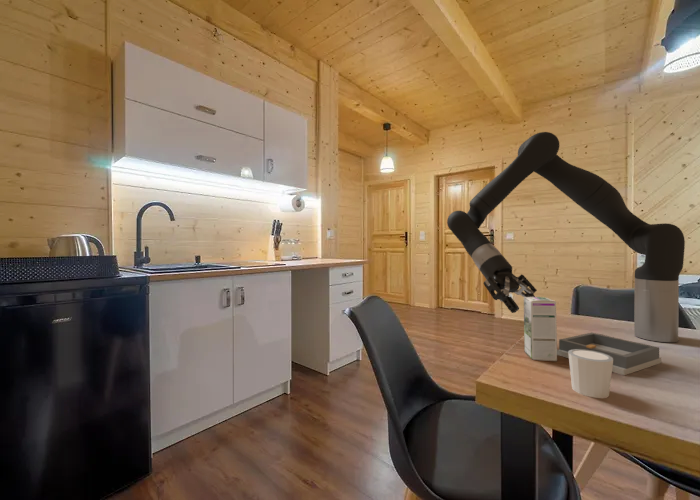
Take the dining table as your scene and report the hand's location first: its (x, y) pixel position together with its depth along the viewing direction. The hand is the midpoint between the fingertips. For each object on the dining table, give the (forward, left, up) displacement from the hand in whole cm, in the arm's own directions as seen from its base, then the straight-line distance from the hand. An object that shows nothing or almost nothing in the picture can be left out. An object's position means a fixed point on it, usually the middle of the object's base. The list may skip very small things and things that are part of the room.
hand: (527, 309), depth 81 cm
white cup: (+9, +19, -11) cm, 24 cm away
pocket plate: (-13, +11, -11) cm, 20 cm away
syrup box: (0, +3, -11) cm, 12 cm away
